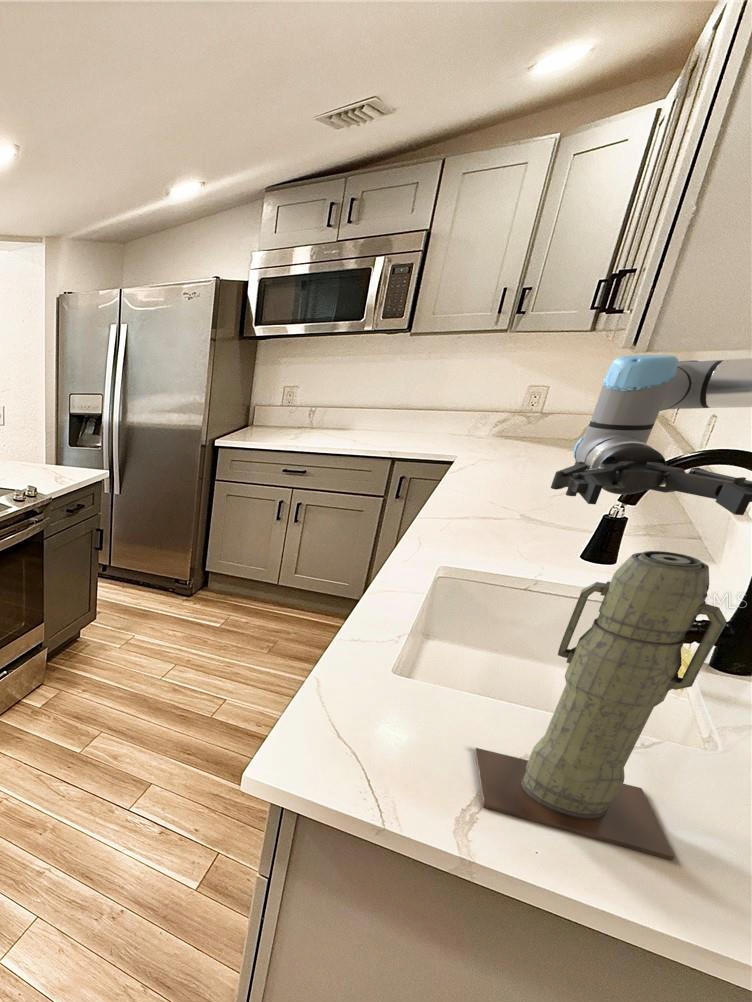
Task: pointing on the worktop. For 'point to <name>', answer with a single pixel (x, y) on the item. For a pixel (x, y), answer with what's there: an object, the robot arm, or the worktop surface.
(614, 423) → the robot arm
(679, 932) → the worktop surface
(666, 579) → the thermos
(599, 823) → the board
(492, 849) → the worktop surface
